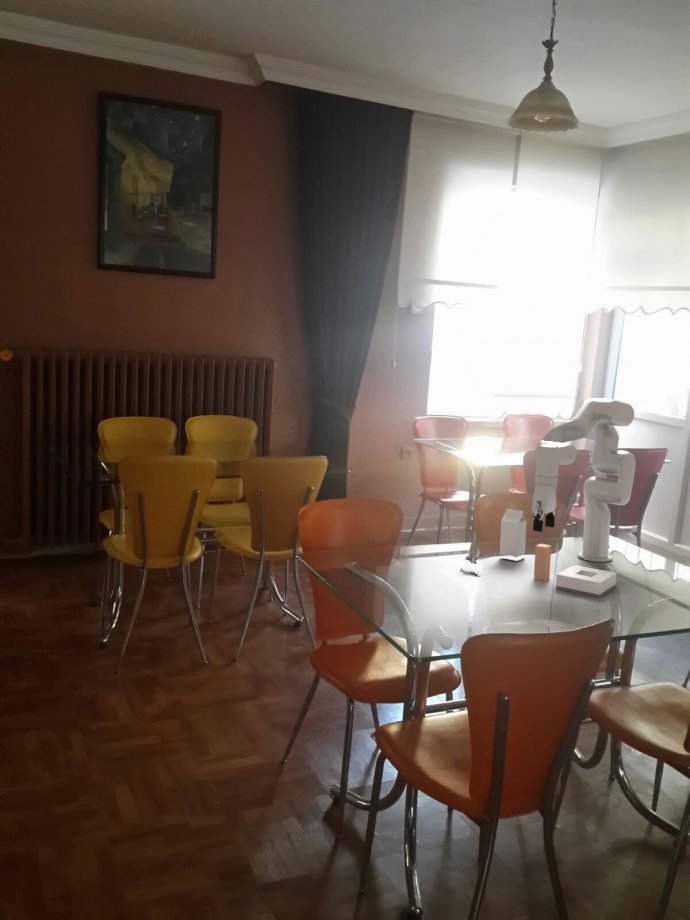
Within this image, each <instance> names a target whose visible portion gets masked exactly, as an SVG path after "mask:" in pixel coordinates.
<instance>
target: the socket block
mask: <svg viewBox="0 0 690 920" xmlns="http://www.w3.org/2000/svg"><path fill="white" fill-rule="evenodd" d="M555 581H556V582H555V589H557V590H561V591H565V592H566V591H567V592H571V593H575V594H579V595H585V596H590V597H595V598H602V596H604V595H605V594H607V593H609V592H610V591H612V590H613V589H615V588H616V586H617V585H616V584H617V572H614V571H609V570H603V569H599V568H598V569H597V568H592V567H587V566H581V565H576V564H573V565H572V566H570V567H567V568H566V569H563V570H562V571H560V572H558V573H556V579H555ZM614 587H615V588H614Z"/></svg>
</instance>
